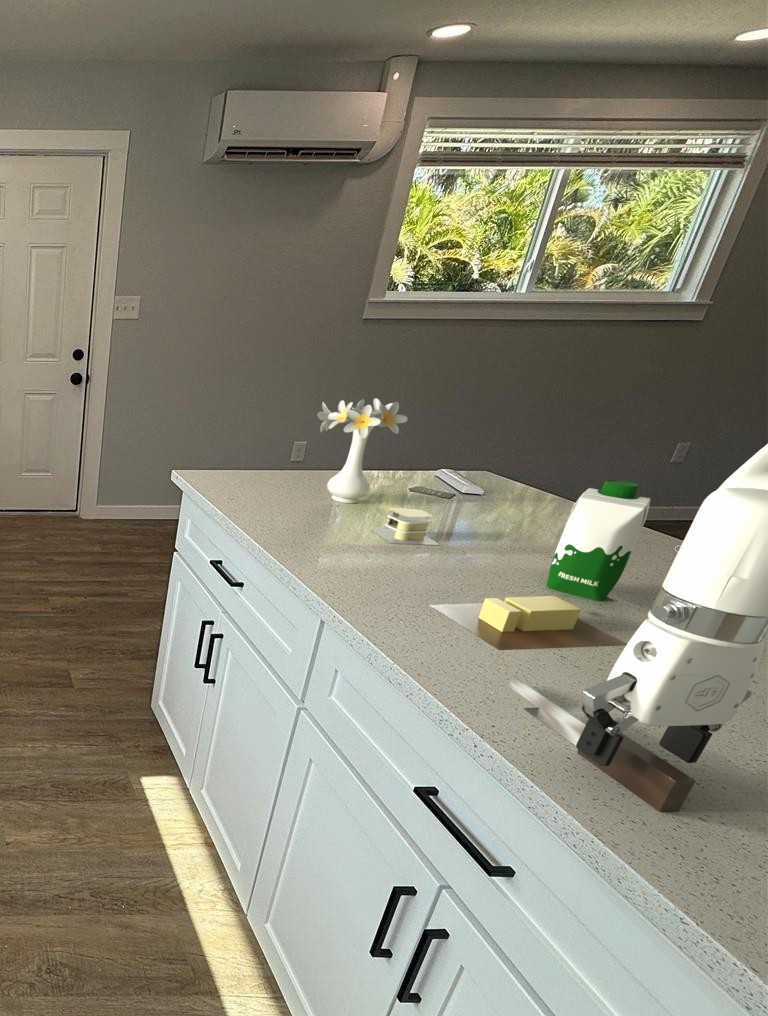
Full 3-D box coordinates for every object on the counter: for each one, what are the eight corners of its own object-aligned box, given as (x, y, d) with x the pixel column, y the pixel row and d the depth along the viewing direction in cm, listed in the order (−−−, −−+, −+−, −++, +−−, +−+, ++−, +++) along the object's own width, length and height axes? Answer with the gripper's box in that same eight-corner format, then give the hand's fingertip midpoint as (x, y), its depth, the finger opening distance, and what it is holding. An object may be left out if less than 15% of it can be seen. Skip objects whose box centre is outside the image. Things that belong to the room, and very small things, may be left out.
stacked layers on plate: (416, 529, 140) (423, 506, 137) (440, 545, 131) (447, 520, 129) (368, 528, 141) (374, 504, 138) (389, 543, 132) (396, 518, 130)
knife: (679, 810, 65) (696, 780, 64) (659, 811, 65) (675, 781, 64) (513, 695, 84) (523, 669, 82) (497, 695, 84) (507, 670, 82)
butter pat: (490, 617, 100) (497, 597, 99) (514, 631, 96) (522, 611, 94) (478, 617, 100) (484, 598, 98) (501, 632, 96) (509, 611, 94)
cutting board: (540, 608, 106) (543, 600, 105) (625, 653, 93) (629, 644, 92) (425, 612, 105) (428, 604, 104) (495, 658, 92) (499, 649, 91)
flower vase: (306, 487, 169) (326, 392, 159) (386, 499, 159) (413, 398, 149) (297, 500, 159) (317, 399, 149) (382, 513, 149) (410, 407, 139)
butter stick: (546, 615, 100) (554, 595, 99) (572, 629, 96) (581, 609, 95) (498, 617, 100) (505, 597, 99) (523, 631, 96) (531, 611, 95)
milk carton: (612, 597, 109) (661, 486, 102) (603, 613, 104) (655, 497, 96) (547, 580, 116) (589, 474, 108) (535, 594, 110) (578, 484, 102)
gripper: (666, 637, 57) (592, 784, 64) (841, 633, 58) (749, 778, 65) (587, 599, 64) (527, 735, 71) (744, 596, 65) (670, 730, 72)
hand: (633, 755), depth 68 cm, fingers open, 9 cm apart
